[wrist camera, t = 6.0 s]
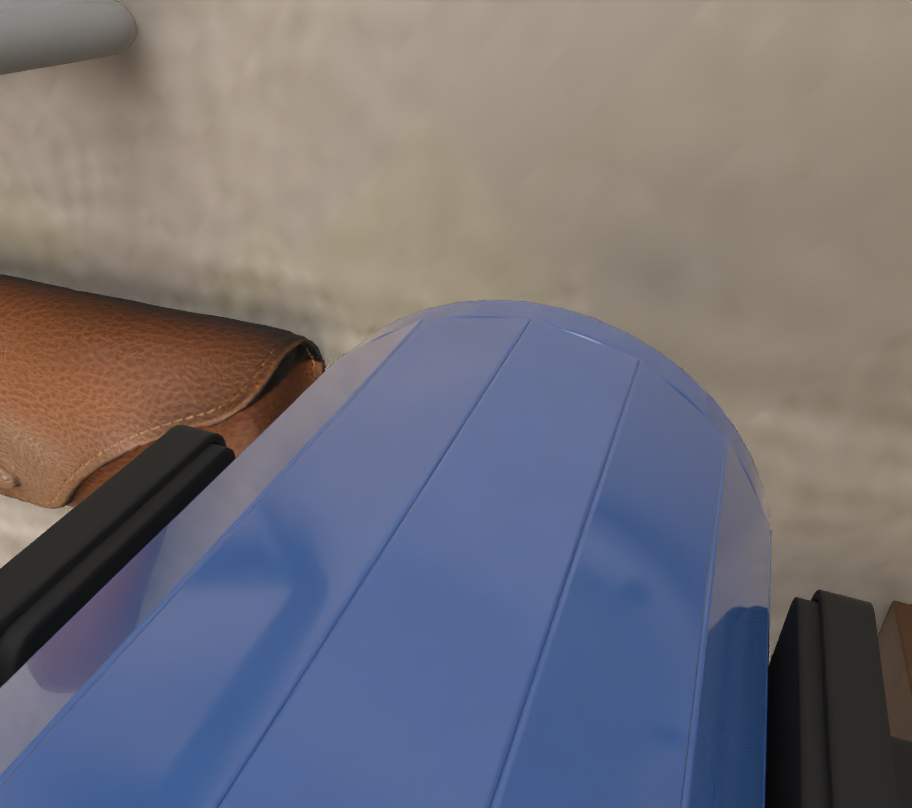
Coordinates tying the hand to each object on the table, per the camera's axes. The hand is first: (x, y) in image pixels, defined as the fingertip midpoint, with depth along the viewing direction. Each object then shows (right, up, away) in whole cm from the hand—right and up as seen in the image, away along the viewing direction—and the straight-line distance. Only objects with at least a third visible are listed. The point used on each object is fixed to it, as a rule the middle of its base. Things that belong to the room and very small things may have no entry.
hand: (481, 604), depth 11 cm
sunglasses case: (-13, +3, +17) cm, 22 cm away
